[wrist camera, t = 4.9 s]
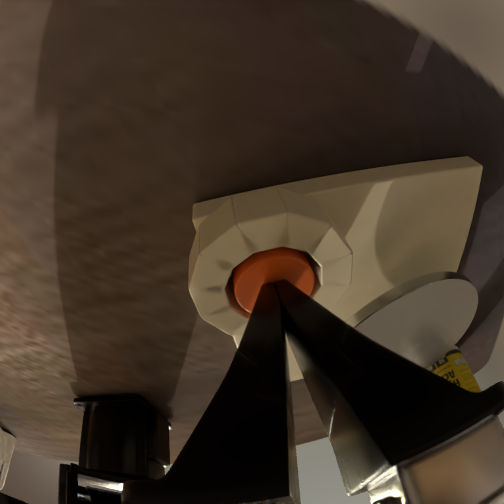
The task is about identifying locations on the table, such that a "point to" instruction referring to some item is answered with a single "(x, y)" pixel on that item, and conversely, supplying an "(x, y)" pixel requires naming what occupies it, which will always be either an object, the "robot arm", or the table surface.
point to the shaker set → (5, 454)
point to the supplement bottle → (455, 370)
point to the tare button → (270, 273)
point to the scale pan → (420, 316)
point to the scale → (336, 235)
